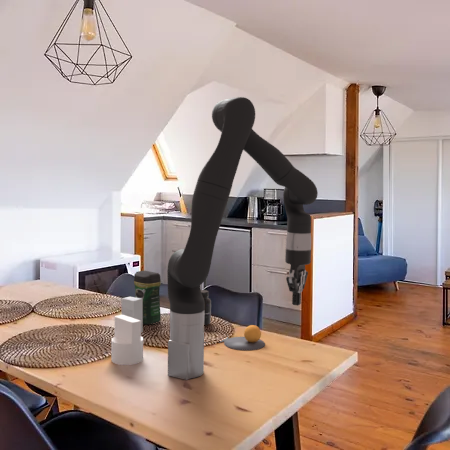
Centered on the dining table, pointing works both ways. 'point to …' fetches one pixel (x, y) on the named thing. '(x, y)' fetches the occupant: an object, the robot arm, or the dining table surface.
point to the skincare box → (133, 308)
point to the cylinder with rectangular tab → (127, 341)
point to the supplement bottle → (206, 307)
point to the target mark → (243, 344)
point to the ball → (252, 333)
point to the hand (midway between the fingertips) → (296, 304)
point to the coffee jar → (148, 295)
